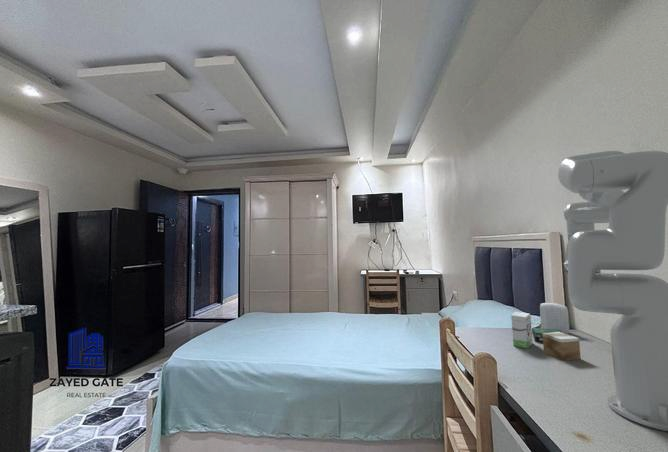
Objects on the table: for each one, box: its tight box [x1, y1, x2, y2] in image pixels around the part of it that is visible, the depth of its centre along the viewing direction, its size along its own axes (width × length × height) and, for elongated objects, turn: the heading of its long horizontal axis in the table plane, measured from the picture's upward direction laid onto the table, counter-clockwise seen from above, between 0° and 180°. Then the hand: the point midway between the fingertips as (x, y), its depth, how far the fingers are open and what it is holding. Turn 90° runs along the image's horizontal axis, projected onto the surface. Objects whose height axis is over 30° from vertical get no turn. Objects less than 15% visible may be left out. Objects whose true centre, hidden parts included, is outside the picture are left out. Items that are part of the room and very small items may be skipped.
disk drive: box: [531, 327, 562, 344], centre depth 113 cm, size 10×3×15 cm
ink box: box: [510, 311, 533, 349], centre depth 107 cm, size 9×5×12 cm, turn 134°
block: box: [542, 332, 581, 361], centre depth 95 cm, size 7×7×7 cm
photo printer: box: [539, 302, 570, 335], centre depth 123 cm, size 10×4×12 cm, turn 36°
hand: (585, 285), depth 98 cm, fingers open, 9 cm apart
